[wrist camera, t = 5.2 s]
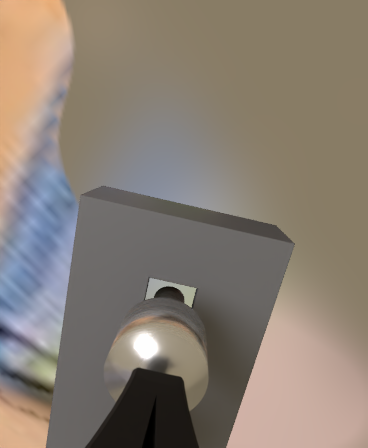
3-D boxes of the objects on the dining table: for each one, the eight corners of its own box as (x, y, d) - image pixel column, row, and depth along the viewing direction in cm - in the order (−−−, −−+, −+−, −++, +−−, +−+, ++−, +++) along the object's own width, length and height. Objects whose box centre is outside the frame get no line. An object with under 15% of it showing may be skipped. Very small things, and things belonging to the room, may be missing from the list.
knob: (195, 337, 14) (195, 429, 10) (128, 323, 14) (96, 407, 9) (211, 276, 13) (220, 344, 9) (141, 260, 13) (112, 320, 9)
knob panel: (195, 481, 20) (194, 539, 17) (61, 453, 20) (37, 507, 17) (275, 225, 15) (294, 243, 12) (102, 185, 15) (80, 194, 12)
